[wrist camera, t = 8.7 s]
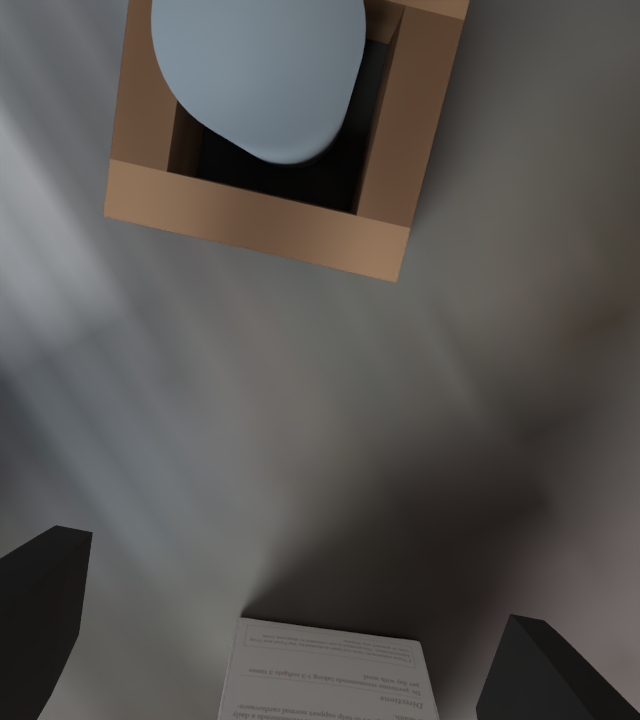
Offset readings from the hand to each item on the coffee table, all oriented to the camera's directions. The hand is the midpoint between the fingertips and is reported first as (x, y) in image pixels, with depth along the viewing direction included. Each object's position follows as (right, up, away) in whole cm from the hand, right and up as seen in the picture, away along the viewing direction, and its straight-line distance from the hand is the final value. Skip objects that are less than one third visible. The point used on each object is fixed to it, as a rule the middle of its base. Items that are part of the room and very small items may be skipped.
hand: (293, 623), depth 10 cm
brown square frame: (0, +12, +7) cm, 14 cm away
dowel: (0, +12, +8) cm, 14 cm away
